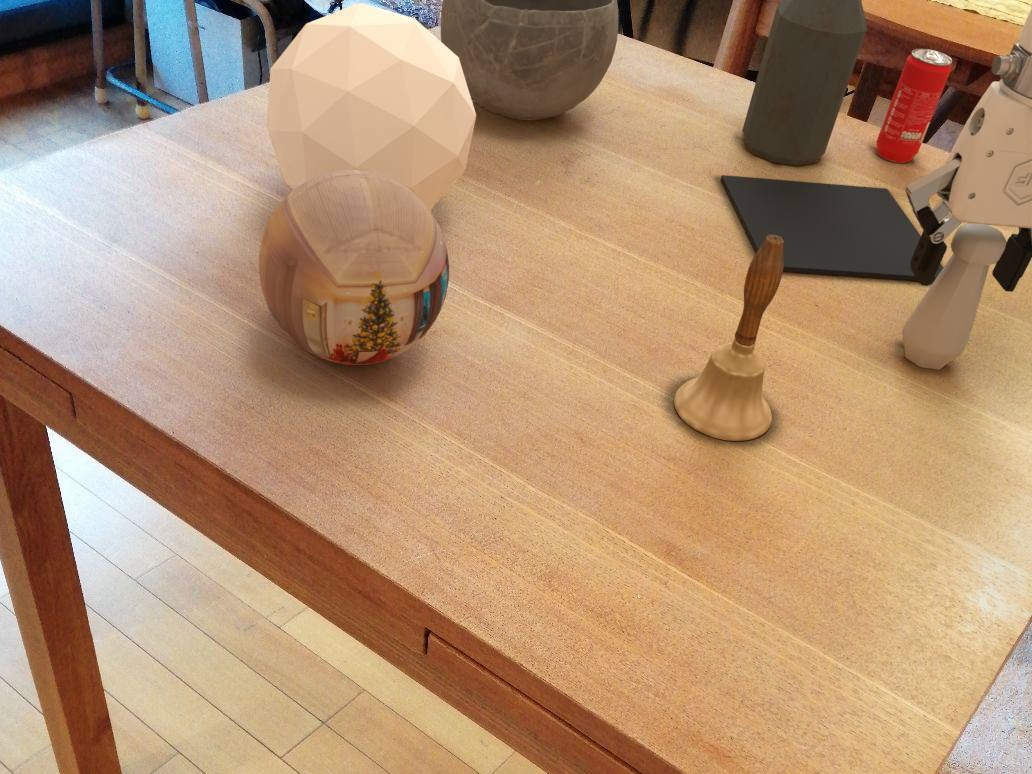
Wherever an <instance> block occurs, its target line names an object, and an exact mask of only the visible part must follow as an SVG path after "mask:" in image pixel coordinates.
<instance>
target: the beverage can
mask: <svg viewBox="0 0 1032 774" xmlns="http://www.w3.org/2000/svg"><path fill="white" fill-rule="evenodd" d="M952 63H953V59H952V58H951V57H950V56H948V55H947V54H945V53H943V52H941V51H937V50H933V49H928V48H915V49H913V50H912V51H911V54H909V56H907V58H906V59H905V63H904V66H903V68H902V71H901V73H900V77H899V79H898V82H897V85H896V87H895V90H894V92H893V96H892V98H891V101H890V103H889V106H888V109H887V111H886V115H885V117H884V119H883V123H882V125H881V128H880V131H879V133H878V136H877V138H876V153H877V155H878V156H879V157H881V158H883V159H884V160H887V161H890V162H893V163H897V164H899V163H900V164H906V163H907V164H908V163H910V162H911V161H912V159H913V158H914V157H915V156H916V155H918V153H919V151H920V149H921V146H922V143H923V141H924V139H925V136H926V135H927V132H928V129H929V127H930V124H931V121H932V119H933V117H934V114H935V111H936V108H937V106H938V104H939V101H940V99H941V96H942V93H943V91H944V88H945V86H946V83H947V81H948V79H949V76H950V73H951V72H952Z"/></svg>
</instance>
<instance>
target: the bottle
mask: <svg viewBox="0 0 1032 774" xmlns="http://www.w3.org/2000/svg"><path fill="white" fill-rule="evenodd" d="M867 30H868V26H867V21H866V16H865V11H864V6H863V1H862V0H781V1H780V2H779V3H778V5H777V6H776V9H775V12H774V16H773V19H772V23H771V28H770V31H769V34H768V37H767V41H766V44H765V48H764V52H763V55H762V59H761V63H760V66H759V69H758V73H757V77H756V79H755V83H754V86H753V90H752V94H751V97H750V101H749V105H748V108H747V112H746V116H745V119H744V123H743V126H742V130H741V131H742V136H743V140H744V145H745V148H746V149H747V150H748V151H749V152H750V153H751V154H753V155H755V156H758V157H759V158H762V159H764V160H767V161H769V162H771V163H773V164H782V165H787V166H794V167H799V166H805V165H810V164H815V163H816V162H817V161H818V160H820V158H821V157H822V156H823V155H825V153H826V151H827V148H828V145H829V143H830V139H831V136H832V134H833V131H834V128H835V124H836V121H837V118H838V115H839V113H840V109H841V107H842V104H843V100H844V98H845V95H846V92H847V89H848V86H849V83H850V80H851V77H852V75H853V72H854V68H855V65H856V63H857V59H858V56H859V55H860V54H859V53H860V51H861V48H862V45H863V42H864V39H865V36H866V33H867Z"/></svg>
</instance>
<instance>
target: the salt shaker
mask: <svg viewBox="0 0 1032 774" xmlns="http://www.w3.org/2000/svg"><path fill="white" fill-rule="evenodd" d="M1006 243H1007V239H1006V237H1005V235H1004V233H1003V232H1001V231H1000V230H999V229H998V228H996V227H994V226H993V225H983V224H973V223H965V224H962V225H959V226H958V229H957V230H956V231H955V232H954V235H953V237H952V239H951V242H950V249H951V251H952V255H951V256H950V257H949V259H948V260H947V262H946V263H945V265H944V266H943V269H942V271H941V272H940V273H939V275H938V276H937V278H936V279H935V281H934V282H932V283H931V284H930V285H929V288H928V289H927V291H926V292H925V293H924V295H923V297H922V298H921V299H920V301H919V302H918V303H917V305H916V307H914V310H913V311H912V312H911V314H910V315H909V316H908V318H907V319H906V321H905V323H904V325H903V327H902V328H903V329H902V339H903V347H904V357H905V358H906V359H907V360H909V361H910V362H912V363H913V364H915V365H916V366H917V367H918V368H923V369H929V370H938V371H940V370H941V369H942V368H943V367H945V366H946V365H948V364H949V363H950V362H951V363H952V361H953V360H955V359H957V358H958V357H959V356H961V355H962V354H963V352H964V351H965V349H966V347H967V345H968V343H969V340H970V337H971V333H972V329H973V327H974V322H975V319H976V316H977V312H978V309H979V305H980V302H981V298H982V294H983V292H984V291H983V290H984V287H985V283H986V281H987V276H988V272H989V269H990V266H991V265H992V266H993V265H996V263H997V261H998V260H999V259H1000V257H1001V255H1002V253H1003V252H1004V250H1005V247H1006Z"/></svg>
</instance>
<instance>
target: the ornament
mask: <svg viewBox="0 0 1032 774" xmlns="http://www.w3.org/2000/svg"><path fill="white" fill-rule="evenodd" d="M449 261H450V260H449V251H448V247H447V244H446V240H445V237H444V234H443V231H442V229H441V227H440V225H439V223H438V221H437V219H436V218H435V216H434V215H433V213H432V212H431V210H429V209H428V208H427V207H426V205H425V204H424V203H423V202H422V201H421V200H420V199H419V197H417V196H416V195H415V194H414V193H413V192H411V191H410V190H409V189H408V188H406V187H405V186H403V185H402V184H400V183H398V182H396V181H395V180H393V179H391V178H389V177H386V176H383V175H380V174H377V173H373V172H368V171H362V170H340V171H333V172H329V173H325V174H322V175H320V176H317V177H314V178H312V179H310V180H308V181H306V182H305V183H303V184H301V185H300V186H298V187H297V188H295V189H294V190H293V189H292V191H291V192H290V193H289V194H288V195H286V196H285V197H284V198H283V199H282V200H281V202H280V203H279V205H277V207H276V208H275V210H274V211H273V212H272V214H271V216H270V218H269V220H268V222H267V223H266V226H265V228H264V232H263V234H262V237H261V242H260V247H259V252H258V273H259V274H258V275H259V283H260V287H261V291H262V296H263V298H264V300H265V301H264V302H265V303H266V305H267V308H268V309H269V312H270V313H271V315H272V317H273V319H274V320H275V321H276V323H277V325H278V327H280V328H281V330H282V331H283V332H284V333H285V334H286V335H287V336H288V337H289V338H290V339H291V341H293V342H294V343H296V344H297V345H298V346H299V347H301V348H302V349H303V350H305V351H307V352H309V353H310V354H313V355H314V356H316V357H318V358H320V359H322V360H325V361H330V362H333V363H336V364H343V365H351V366H352V365H353V366H356V365H357V366H363V365H364V366H365V365H371V364H378V363H381V362H384V361H387V360H390V359H393V358H395V357H397V356H399V355H402V354H403V353H405V352H406V351H407V350H409V349H410V348H412V347H414V346H415V345H416V344H417V343H418V342H419V341H420V340H421V339H422V338H423V337H424V336H425V335H427V333H428V332H429V330H430V329H431V328H432V326H433V325H434V323H436V320H437V318H438V316H439V315H440V313H441V310H442V309H443V306H444V303H445V300H446V297H447V292H448V287H449V283H450V262H449Z"/></svg>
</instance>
